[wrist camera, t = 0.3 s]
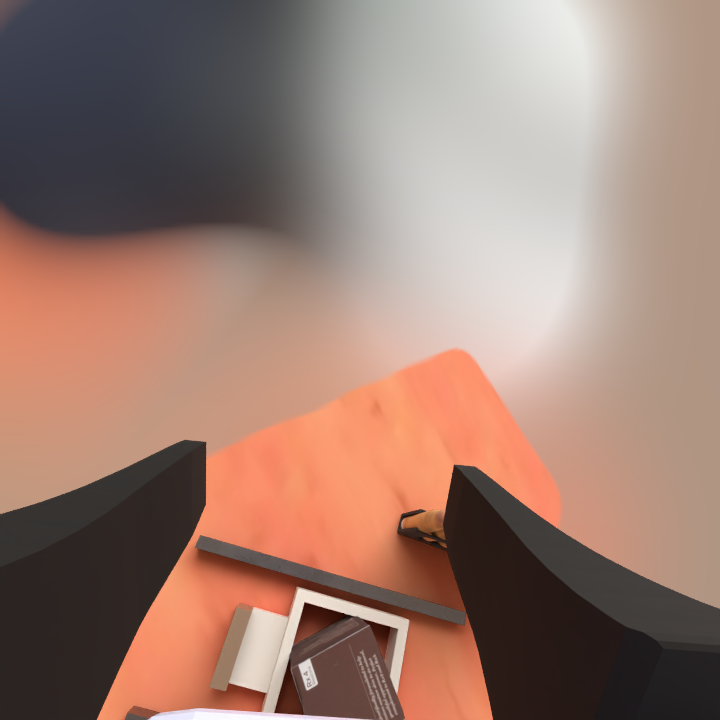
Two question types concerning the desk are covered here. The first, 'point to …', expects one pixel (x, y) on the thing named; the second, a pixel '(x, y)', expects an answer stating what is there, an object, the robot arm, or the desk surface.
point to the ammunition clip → (424, 527)
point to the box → (344, 674)
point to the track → (140, 716)
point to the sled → (289, 643)
